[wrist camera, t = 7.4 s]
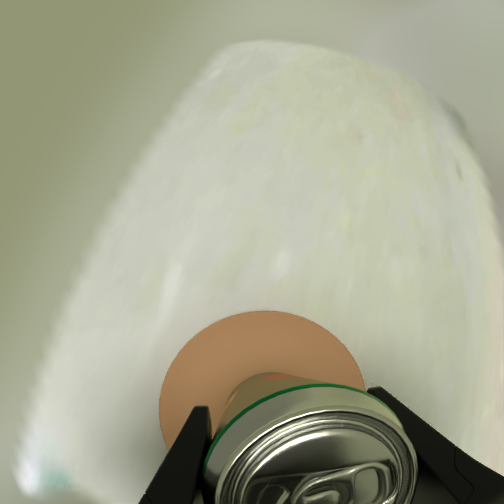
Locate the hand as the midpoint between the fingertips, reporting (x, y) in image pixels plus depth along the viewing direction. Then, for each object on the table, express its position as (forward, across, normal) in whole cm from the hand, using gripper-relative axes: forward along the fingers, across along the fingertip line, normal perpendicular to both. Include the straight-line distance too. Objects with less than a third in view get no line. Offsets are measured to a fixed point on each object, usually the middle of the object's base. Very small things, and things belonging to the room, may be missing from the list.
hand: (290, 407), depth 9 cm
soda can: (+5, 0, +7) cm, 9 cm away
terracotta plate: (+6, 0, +8) cm, 10 cm away
